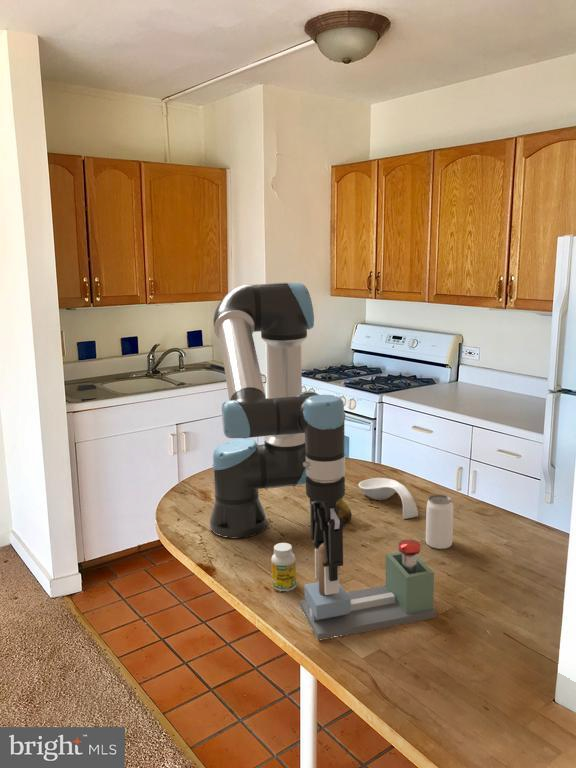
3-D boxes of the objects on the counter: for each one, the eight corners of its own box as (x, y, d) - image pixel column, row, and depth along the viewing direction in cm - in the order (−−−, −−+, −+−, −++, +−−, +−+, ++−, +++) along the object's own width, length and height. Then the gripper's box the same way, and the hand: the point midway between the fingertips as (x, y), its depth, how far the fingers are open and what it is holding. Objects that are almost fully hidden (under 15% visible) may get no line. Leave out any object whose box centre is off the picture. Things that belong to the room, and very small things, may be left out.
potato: (326, 531, 167) (325, 503, 165) (308, 512, 178) (307, 486, 177) (354, 526, 169) (354, 498, 167) (335, 507, 181) (335, 481, 179)
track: (300, 607, 133) (299, 566, 131) (408, 587, 139) (409, 547, 137) (317, 640, 122) (316, 596, 120) (435, 617, 128) (436, 575, 126)
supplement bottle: (293, 578, 144) (292, 539, 142) (298, 590, 139) (297, 550, 137) (270, 581, 143) (268, 542, 141) (275, 594, 138) (273, 554, 136)
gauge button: (394, 581, 133) (395, 541, 131) (413, 577, 135) (414, 538, 132) (403, 592, 129) (404, 551, 127) (423, 588, 130) (424, 547, 128)
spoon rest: (351, 492, 192) (351, 470, 191) (384, 485, 197) (385, 463, 195) (393, 523, 171) (394, 498, 169) (430, 515, 175) (430, 490, 174)
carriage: (304, 604, 131) (303, 537, 127) (336, 598, 133) (336, 532, 129) (316, 626, 123) (315, 555, 120) (350, 620, 125) (350, 550, 122)
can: (452, 550, 155) (454, 505, 152) (425, 548, 156) (426, 503, 153) (451, 538, 161) (453, 494, 158) (425, 536, 162) (426, 493, 159)
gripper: (293, 462, 129) (296, 566, 134) (321, 496, 112) (323, 613, 117) (328, 458, 131) (329, 560, 136) (361, 491, 114) (361, 606, 119)
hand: (326, 585), depth 127 cm, fingers open, 5 cm apart
